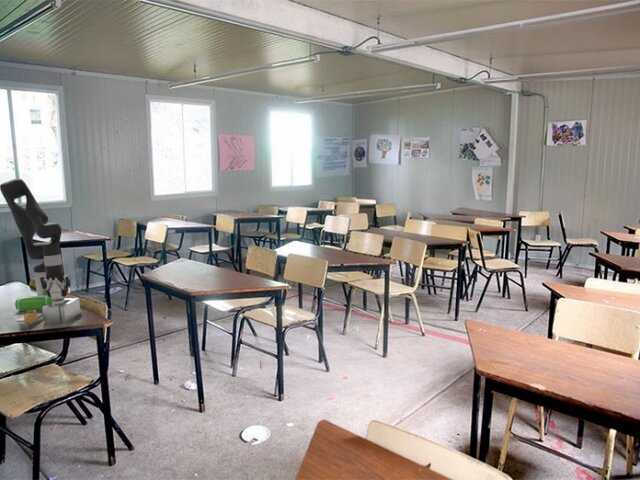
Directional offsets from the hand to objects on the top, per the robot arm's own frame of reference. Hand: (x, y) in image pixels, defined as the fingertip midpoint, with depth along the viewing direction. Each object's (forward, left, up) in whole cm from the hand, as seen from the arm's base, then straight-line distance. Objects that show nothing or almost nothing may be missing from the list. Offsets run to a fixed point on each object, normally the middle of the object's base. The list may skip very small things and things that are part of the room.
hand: (57, 296), depth 236 cm
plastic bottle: (0, 0, -11) cm, 11 cm away
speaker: (-16, -21, -12) cm, 29 cm away
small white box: (+4, -2, -11) cm, 12 cm away
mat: (-2, -16, -11) cm, 20 cm away
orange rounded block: (+9, -9, -11) cm, 17 cm away
